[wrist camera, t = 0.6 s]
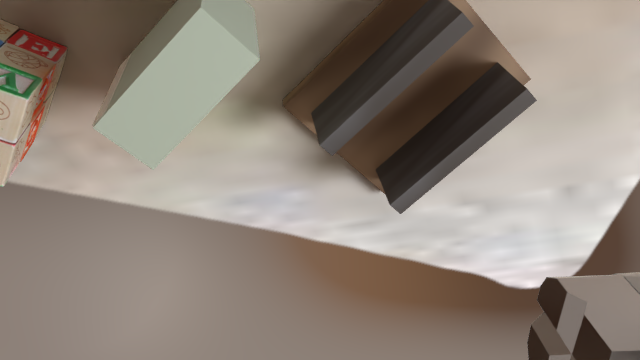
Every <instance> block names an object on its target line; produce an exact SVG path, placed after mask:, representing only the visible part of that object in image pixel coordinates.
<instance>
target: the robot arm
mask: <svg viewBox="0 0 640 360" xmlns="http://www.w3.org/2000/svg"><path fill="white" fill-rule="evenodd" d="M537 301H538V302H539V304H540V306H541V307H542V309H543V311H544V313H542V314H541V315H540V316H539V318H537V319H536V320H535V321H534V322H533V323H532V324H531V327H530V333H529V337H528V342H527V344H528V355H529V356H528V357H529V360H640V273H621V274H613V275H604V276H572V277H547V278H546V279H545V281H544V282H543V284H542V285H541V287H540V291H539V295H538V299H537Z"/></svg>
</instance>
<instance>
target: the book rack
mask: <svg viewBox="0 0 640 360" xmlns="http://www.w3.org/2000/svg"><path fill="white" fill-rule="evenodd" d="M529 80H531V79H530V77H529V76H528V75H527V74H526V73H525V71H524V70H523V69H522V68H521V67H520V65H519V64H518V63H517V62H516V61H515V59H514V58H513V57H512V56H511V55H510V53H509V52H508V51H507V50H506V48H505V47H504V46H503V45H502V44H501V42H500V41H499V40H498V39H497V38H496V36H495V35H494V34H493V33H492V32H491V30H490V29H489V28H488V27H487V26H486V24H485V23H484V22H483V21H482V20H481V18H480V17H479V16H478V15H477V13H476V12H475V11H474V10H473V9H472V7H471V6H470V5H469V4H468V3H467V1H466V0H384V1H383V2H382V3H381V4H380V5H379V6H378V7H377V8H376V9H375V10H374V11H372V12H371V13H370V14H369V15H368V16H367V17H366V18H365V19H364V20H363V21H362V22H361V23H360V24H359V25H358V26H357V27H356V28H355V29H354V30H353V31H352V32H351V33H350V34H349V35H348V36H347V37H346V38H345V39H344V40H343V41H342V42H341V43H340V44H339V45H338V46H337V47H336V48H335V49H334V50H333V51H332V52H331V53H330V54H329V55H328V56H327V57H326V58H325V59H324V60H323V61H322V62H321V63H320V64H319V65H318V66H317V67H316V68H315V69H314V70H313V71H312V72H311V73H310V74H309V75H308V76H307V77H306V78H305V79H304V80H303V81H302V82H301V83H300V84H299V85H298V86H296V87H295V88H294V89H293V90H292V91H291V92H290V93H289V94H288V95H287V96H286V97H285V98H284V99H283V106H284V108H285V109H287V110H288V111H289V112H290V113H291V114H292V115H294V116H295V117H296V118H297V119H298V120H299V121H301V122H302V123H303V124H304V125H305V126H306V127H308V128H309V129H310V130H311V131H312V132H313V133H315V134H316V135H317V137H318V141H319V144H320V146H321V147H322V148H324V149H325V150H326V151H327V152H328V153H330V154H331V155H332V156H333V155H334V154H335V153H336V152H337V153H338V154H339V155H340V156H341V157H342V158H344V159H345V160H346V161H347V162H348V163H349V164H351V165H352V166H353V167H354V168H355V169H356V170H358V171H359V172H360V173H361V174H362V175H363V176H365V177H366V178H367V179H368V180H369V181H370V182H372V183H373V184H374V185H375V186H376V187H377V188H379V189H380V190H381V191H382V192H383V193H384V194H385V195H386V196H387V199H388V201H389V204H390V205H391V206H392V207H393V208H394V209H395V210H396V211H398V212H399V213H400V214H401V213H403V212H404V211H405V210H406V209H407V208H409V207H410V206H411V205H412V204H413V203H415V202H416V201H417V200H418V199H419V198H421V197H422V196H423V195H424V194H425V193H427V192H428V191H429V190H430V189H431V188H432V187H434V186H435V185H436V184H437V183H438V182H440V181H441V180H442V179H443V178H444V177H446V176H447V175H448V174H449V173H450V172H452V171H453V170H454V169H455V168H456V167H458V166H459V165H460V164H461V163H462V162H464V161H465V160H466V159H467V158H468V157H470V156H471V155H472V154H473V153H474V152H476V151H477V150H478V149H479V148H480V147H482V146H483V145H484V144H485V143H486V142H488V141H489V140H490V139H491V138H492V137H494V136H495V135H496V134H497V133H498V132H500V131H501V130H502V129H503V128H504V127H505V126H507V125H508V124H509V123H510V122H511V121H513V120H514V119H515V118H516V117H517V116H519V115H520V114H521V113H522V112H523V111H525V110H526V109H527V108H528V107H529V106H531V105H532V104H533V103H534V102H535V101H537V100H536V99H535V98H534V96H533V95H532V94H531V93H530V92H529V91H528V89H527V88H526V87H524V86H523V85H525V84H526V83H527V82H528V81H529Z"/></svg>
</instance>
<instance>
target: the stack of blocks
mask: <svg viewBox="0 0 640 360" xmlns="http://www.w3.org/2000/svg"><path fill="white" fill-rule="evenodd" d="M66 53H67V47H65V46H63V45H60V44H57V43H55V42H52V41H50V40H47V39H45V38H42V37H39V36H37V35H34V34H32V33H29V32H27V31H25V30H20V29H19V27H17V26H15V25H13V24H11V23H8V22H6V21H3V20H1V19H0V186H2V187H3V186H4V185H5V184H6V182H7V181H8V179H9V178H10V176H11V175H12V173H13V172H14V170H15V169H16V167H17V166H18V164H19V162H21V161H22V159H23V158H24V156H25V155H26V153H27V151H28V150H29V148H30V147H31V145H32V143H33V142H34V140H35V138H36V136H37V134H38V133H39V131H40V129H41V128H42V126H43V124H44V123H45V121H46V117H47V114H48V111H49V108H50V105H51V101H52V98H53V95H54V92H55V88H56V86H57V83H58V80H59V77H60V74H61V71H62V68H63V65H64V61H65V58H66Z"/></svg>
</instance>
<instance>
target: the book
mask: <svg viewBox="0 0 640 360" xmlns="http://www.w3.org/2000/svg"><path fill="white" fill-rule="evenodd" d="M259 60H260V55H259V47H258V38H257V29H256V21H255V12H254V8H253V7H252V6H251V5H249V4H248V3H247V2H246V1H245V0H177V1H176V3H175V4H174V5H173V6H172V7H171V8H170V9H169V11H168V12H167V13H166V14H165V15H164V16H163V17H162V19H161V20H160V21H159V22H158V23H157V24H156V25H155V27H154V28H153V29H152V30H151V31H150V32H149V33H148V35H147V36H146V37H145V38H144V39H143V40H142V41H141V43H140V44H139V45H138V46H137V47H136V48H135V49H134V51H133V52H132V53H131V54H130V55H129V56H128V57H127V58H126V59H125V61H124V62H123V63H122V64H121V65H120V67H119V69H118V71H117V73H116V75H115V77H114V80H113V82H112V84H111V86H110V88H109V90H108V93H107V95H106V97H105V99H104V101H103V103H102V106H101V108H100V110H99V112H98V114H97V116H96V119H95V121H94V123H93V128H94V129H95V130H96V131H98V132H99V133H101V134H102V135H104V136H105V137H106V138H108V139H109V140H111V141H112V142H114V143H115V144H117V145H118V146H119V147H121V148H122V149H124V150H125V151H127V152H128V153H129V154H131V155H132V156H134V157H135V158H137V159H138V160H140V161H141V162H142V163H144V164H145V165H147V166H148V167H150V168H151V169H152V170H154V169H155V168H156V167H157V166H158V165H159V164H160V163H161V162H162V161H163V160H164V159H165V157H166V156H167V155H168V154H169V153H170V152H171V151H172V150H173V149H174V148H175V147H176V146H177V145H178V144H179V143H180V142H181V141H182V140H183V139H184V138H185V137H186V136H187V135H188V134H189V133H190V132H191V131H192V130H193V129H194V128H195V126H196V125H197V124H198V123H199V122H200V121H201V120H202V119H203V118H204V117H205V116H206V115H207V114H208V113H209V112H210V111H211V110H212V109H213V108H214V107H215V106H216V105H217V104H218V103H219V102H220V101H221V100H222V99H223V98H224V97H225V96H226V94H227V93H228V92H229V91H230V90H231V89H232V88H233V87H234V86H235V85H236V84H237V83H238V82H239V81H240V80H241V79H242V78H243V77H244V76H245V75H246V74H247V73H248V72H249V71H250V70H251V69H252V68H253V67H254V66H255V65H256V64H257V62H258V61H259Z"/></svg>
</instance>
